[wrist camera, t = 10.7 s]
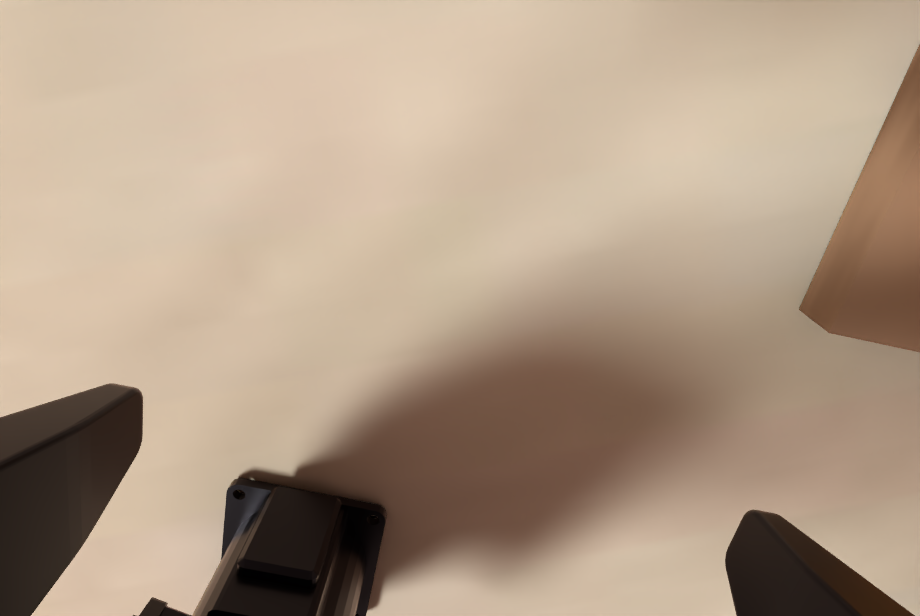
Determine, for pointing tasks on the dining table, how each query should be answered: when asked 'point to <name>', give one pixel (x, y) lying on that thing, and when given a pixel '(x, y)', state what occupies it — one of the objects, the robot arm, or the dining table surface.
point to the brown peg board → (878, 239)
